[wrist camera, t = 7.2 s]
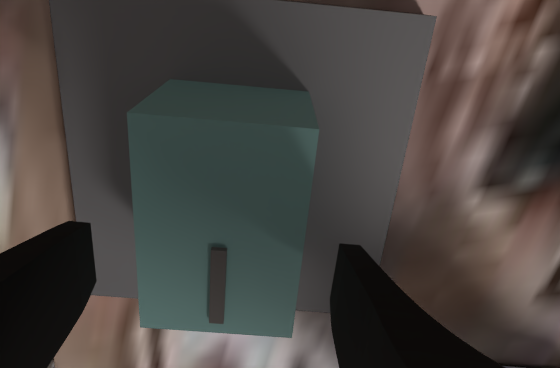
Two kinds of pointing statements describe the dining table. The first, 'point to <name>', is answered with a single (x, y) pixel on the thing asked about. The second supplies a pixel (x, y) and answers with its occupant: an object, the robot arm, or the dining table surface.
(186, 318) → the keyed cap
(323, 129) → the key board
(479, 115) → the dining table surface
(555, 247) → the dining table surface
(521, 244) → the dining table surface
